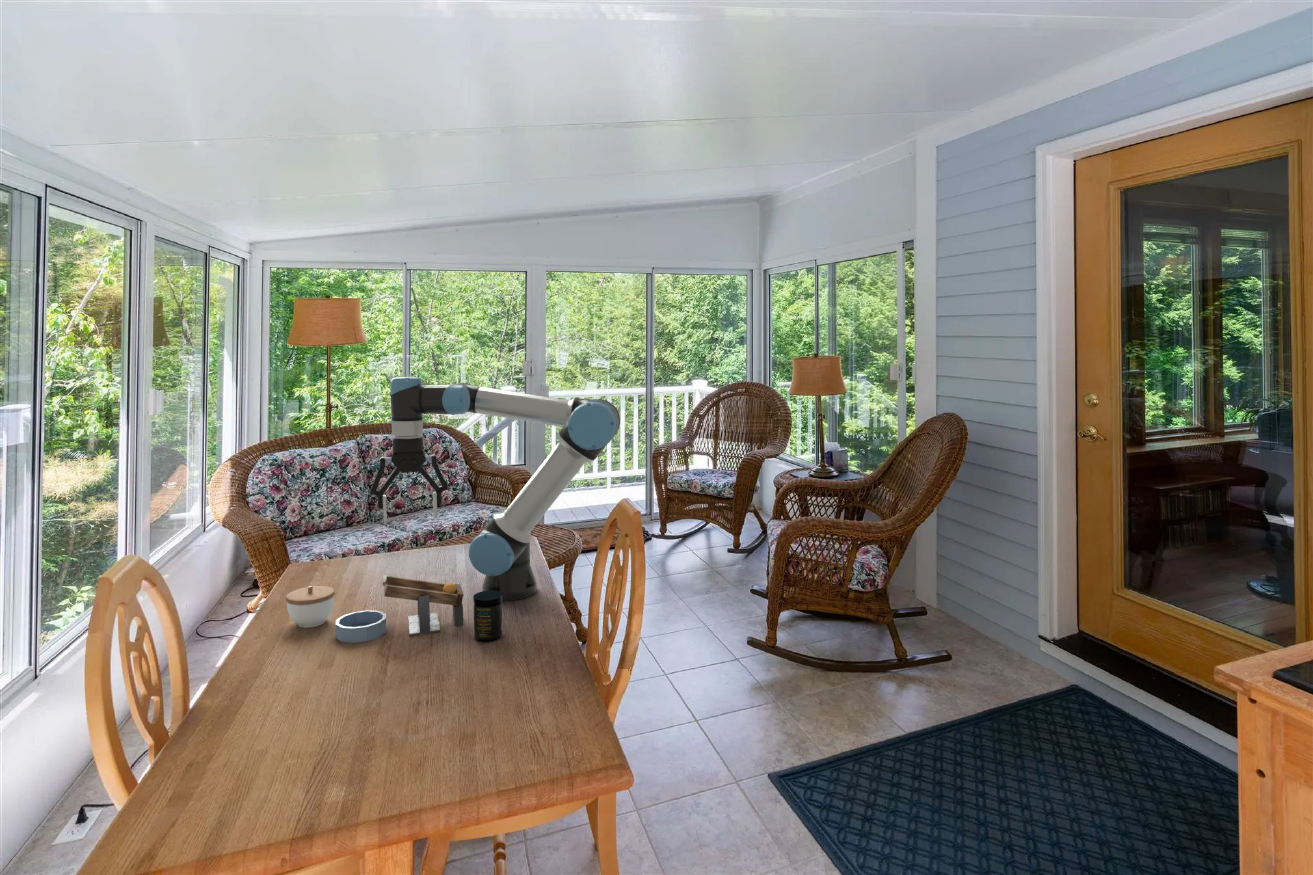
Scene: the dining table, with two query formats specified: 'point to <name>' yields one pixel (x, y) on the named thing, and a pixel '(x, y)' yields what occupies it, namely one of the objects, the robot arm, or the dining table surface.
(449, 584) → the ball
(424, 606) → the pivot stand
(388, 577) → the lever
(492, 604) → the supplement container
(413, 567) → the dining table surface
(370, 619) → the bowl
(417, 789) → the dining table surface
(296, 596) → the lidded jar
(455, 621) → the block
